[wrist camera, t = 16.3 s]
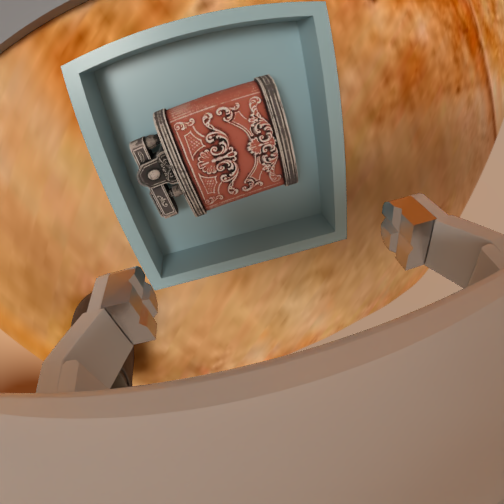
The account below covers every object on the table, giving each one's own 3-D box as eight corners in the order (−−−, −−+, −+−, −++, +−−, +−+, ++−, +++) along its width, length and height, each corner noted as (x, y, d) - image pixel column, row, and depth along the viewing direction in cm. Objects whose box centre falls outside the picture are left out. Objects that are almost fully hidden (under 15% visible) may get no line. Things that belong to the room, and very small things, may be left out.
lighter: (262, 72, 17) (122, 123, 17) (275, 76, 15) (111, 136, 15) (287, 171, 22) (166, 214, 22) (302, 191, 20) (164, 239, 20)
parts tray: (302, 9, 15) (325, 1, 12) (327, 214, 26) (346, 238, 23) (82, 64, 15) (60, 66, 12) (157, 260, 26) (154, 290, 23)
